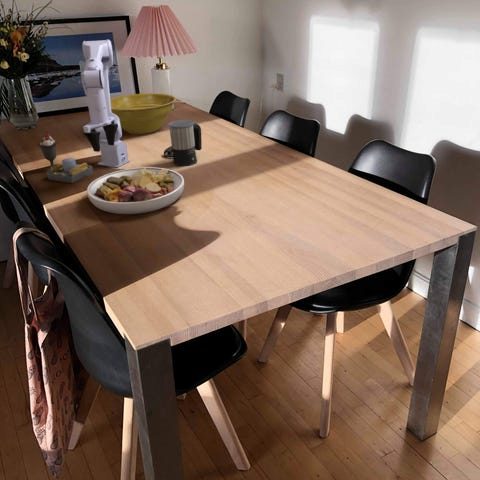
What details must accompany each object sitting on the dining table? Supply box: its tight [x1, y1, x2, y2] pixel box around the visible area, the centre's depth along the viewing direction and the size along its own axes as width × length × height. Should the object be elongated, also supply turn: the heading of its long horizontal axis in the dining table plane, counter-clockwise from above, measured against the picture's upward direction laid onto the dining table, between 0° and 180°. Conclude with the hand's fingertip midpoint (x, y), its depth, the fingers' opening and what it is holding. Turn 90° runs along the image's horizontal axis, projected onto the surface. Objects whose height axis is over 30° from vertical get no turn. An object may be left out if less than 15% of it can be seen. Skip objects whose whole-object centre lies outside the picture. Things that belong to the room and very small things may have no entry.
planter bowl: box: [110, 92, 177, 135], centre depth 227 cm, size 32×32×13 cm
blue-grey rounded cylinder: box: [61, 157, 77, 174], centre depth 179 cm, size 4×4×6 cm
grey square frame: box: [46, 161, 94, 184], centre depth 180 cm, size 11×11×4 cm
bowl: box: [86, 166, 185, 215], centre depth 160 cm, size 30×30×8 cm
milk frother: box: [163, 119, 202, 167], centre depth 189 cm, size 14×16×15 cm
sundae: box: [37, 130, 58, 173], centre depth 184 cm, size 7×7×15 cm
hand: (104, 148), depth 174 cm, fingers open, 7 cm apart
